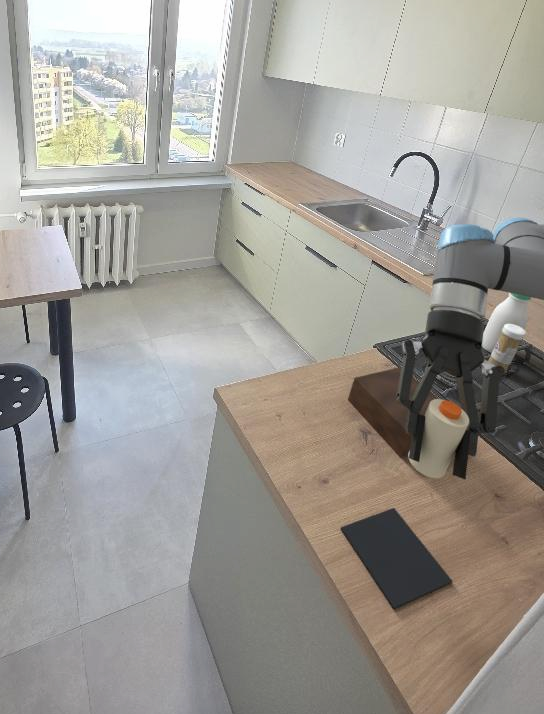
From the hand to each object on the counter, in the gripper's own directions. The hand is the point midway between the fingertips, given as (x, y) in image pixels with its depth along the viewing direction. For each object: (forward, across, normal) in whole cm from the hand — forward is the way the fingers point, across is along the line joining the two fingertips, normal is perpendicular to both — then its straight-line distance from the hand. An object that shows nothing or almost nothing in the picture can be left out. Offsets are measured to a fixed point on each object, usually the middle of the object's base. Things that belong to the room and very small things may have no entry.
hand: (436, 468), depth 61 cm
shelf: (-7, -2, -39) cm, 40 cm away
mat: (+16, 0, -17) cm, 23 cm away
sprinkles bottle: (-30, -27, -62) cm, 74 cm away
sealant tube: (0, 0, -5) cm, 5 cm away
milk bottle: (-37, -29, -69) cm, 83 cm away
